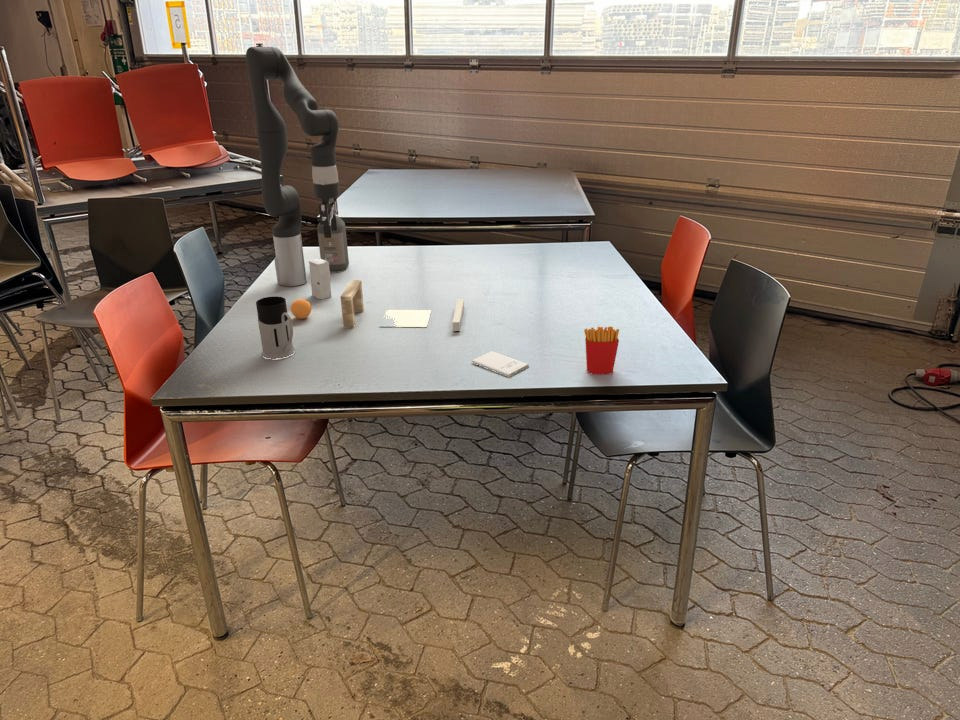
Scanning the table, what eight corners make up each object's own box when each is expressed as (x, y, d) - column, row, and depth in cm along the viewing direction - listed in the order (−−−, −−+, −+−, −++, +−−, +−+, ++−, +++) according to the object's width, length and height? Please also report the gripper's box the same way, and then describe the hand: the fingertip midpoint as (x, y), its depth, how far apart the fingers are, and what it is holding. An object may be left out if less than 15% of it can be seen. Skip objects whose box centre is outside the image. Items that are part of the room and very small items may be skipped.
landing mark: (379, 327, 196) (379, 326, 196) (387, 310, 208) (387, 309, 208) (426, 327, 195) (426, 327, 195) (431, 310, 208) (431, 310, 208)
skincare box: (311, 295, 222) (307, 260, 217) (323, 292, 225) (319, 257, 219) (321, 300, 218) (317, 264, 213) (333, 296, 220) (329, 261, 215)
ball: (289, 321, 200) (287, 302, 198) (295, 314, 206) (293, 296, 203) (309, 321, 200) (306, 303, 198) (314, 314, 206) (312, 296, 203)
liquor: (345, 272, 245) (337, 189, 232) (320, 272, 245) (311, 189, 233) (350, 264, 253) (342, 184, 241) (326, 264, 254) (317, 185, 241)
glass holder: (285, 344, 185) (278, 293, 179) (311, 359, 176) (304, 306, 169) (256, 353, 180) (247, 301, 173) (281, 369, 170) (273, 315, 164)
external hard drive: (492, 356, 178) (528, 369, 171) (471, 365, 173) (508, 379, 165) (492, 350, 178) (529, 363, 170) (471, 360, 172) (508, 373, 165)
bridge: (343, 327, 196) (340, 296, 192) (354, 309, 209) (351, 280, 205) (353, 327, 196) (350, 296, 191) (363, 309, 209) (361, 280, 205)
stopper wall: (452, 331, 192) (452, 322, 191) (457, 307, 210) (457, 298, 209) (459, 331, 192) (459, 322, 191) (464, 307, 210) (463, 298, 209)
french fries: (614, 367, 170) (617, 323, 164) (617, 374, 166) (620, 330, 161) (580, 367, 170) (583, 324, 164) (583, 374, 166) (586, 330, 161)
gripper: (318, 176, 206) (324, 228, 213) (307, 185, 193) (313, 240, 200) (342, 176, 206) (347, 228, 213) (333, 185, 193) (338, 239, 200)
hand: (331, 233), depth 206 cm, fingers open, 8 cm apart
